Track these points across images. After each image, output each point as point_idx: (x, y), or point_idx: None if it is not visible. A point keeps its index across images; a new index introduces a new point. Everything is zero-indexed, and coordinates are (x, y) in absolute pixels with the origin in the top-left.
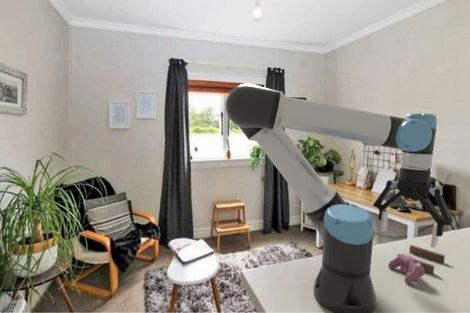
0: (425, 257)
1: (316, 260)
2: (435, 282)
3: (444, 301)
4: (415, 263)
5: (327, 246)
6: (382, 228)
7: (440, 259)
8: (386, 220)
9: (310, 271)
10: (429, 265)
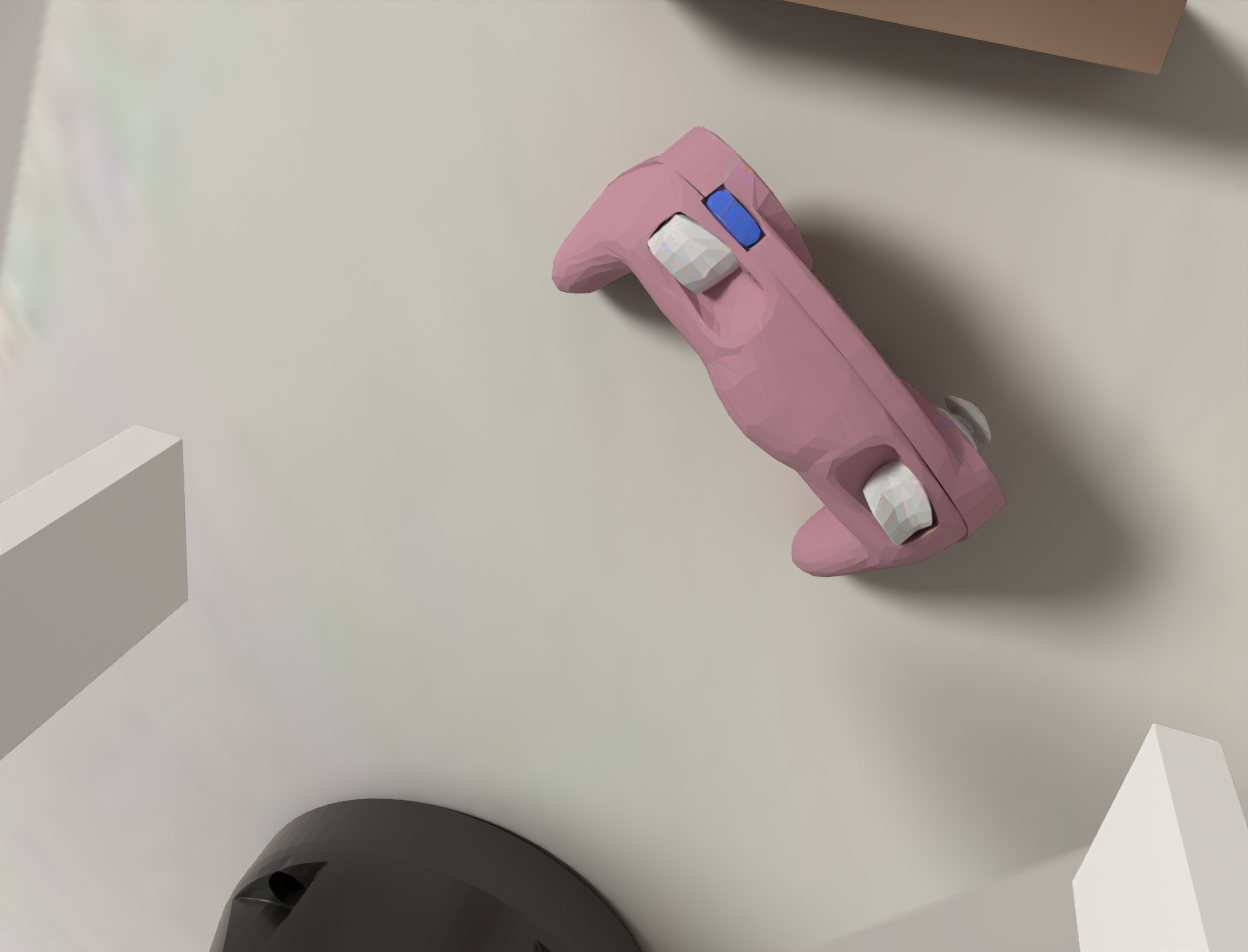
0: None
1: None
2: (1161, 301)
3: (1207, 695)
4: (870, 511)
5: None
6: (130, 639)
7: None
8: (2, 609)
9: (108, 752)
10: (1100, 58)
